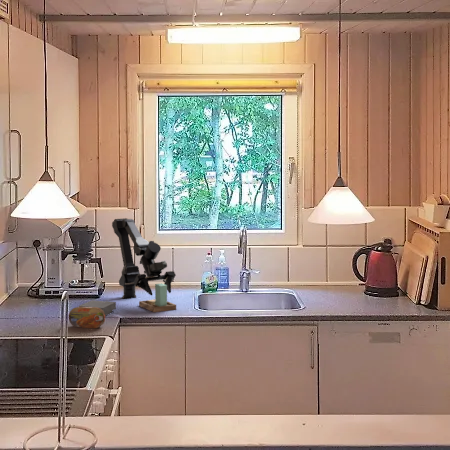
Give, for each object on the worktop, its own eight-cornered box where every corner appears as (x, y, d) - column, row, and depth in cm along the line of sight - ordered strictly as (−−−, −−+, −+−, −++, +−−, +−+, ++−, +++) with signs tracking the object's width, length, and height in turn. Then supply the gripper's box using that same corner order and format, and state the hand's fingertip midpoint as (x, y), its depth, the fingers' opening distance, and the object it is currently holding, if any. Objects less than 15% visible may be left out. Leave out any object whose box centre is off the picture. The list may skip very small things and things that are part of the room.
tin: (68, 327, 299) (68, 307, 298) (71, 325, 302) (70, 305, 301) (103, 329, 296) (103, 308, 295) (106, 327, 299) (106, 306, 298)
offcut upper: (147, 303, 333) (147, 300, 333) (155, 302, 335) (155, 299, 335) (152, 304, 330) (152, 302, 330) (160, 303, 332) (160, 300, 332)
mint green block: (155, 308, 328) (155, 284, 327) (161, 307, 330) (161, 283, 329) (160, 310, 324) (160, 286, 323) (167, 309, 326) (166, 285, 324)
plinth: (91, 308, 331) (91, 300, 330) (115, 310, 327) (115, 302, 327) (78, 314, 319) (78, 305, 319) (103, 317, 316) (103, 307, 315)
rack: (139, 307, 333) (139, 301, 333) (160, 305, 339) (160, 298, 339) (154, 314, 321) (154, 307, 320) (176, 311, 327) (176, 304, 326)
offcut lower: (148, 305, 333) (147, 303, 333) (155, 304, 335) (155, 302, 335) (152, 307, 330) (151, 304, 330) (159, 306, 332) (159, 303, 332)
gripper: (136, 256, 324) (147, 285, 316) (173, 253, 334) (185, 281, 326) (129, 271, 331) (140, 300, 323) (165, 268, 341) (177, 295, 333)
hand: (161, 293), depth 326 cm, fingers open, 9 cm apart
